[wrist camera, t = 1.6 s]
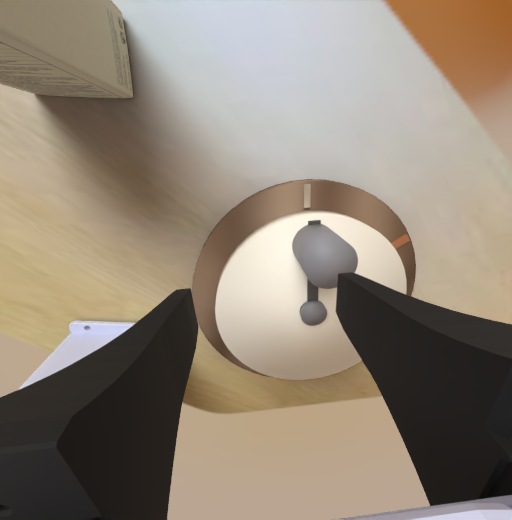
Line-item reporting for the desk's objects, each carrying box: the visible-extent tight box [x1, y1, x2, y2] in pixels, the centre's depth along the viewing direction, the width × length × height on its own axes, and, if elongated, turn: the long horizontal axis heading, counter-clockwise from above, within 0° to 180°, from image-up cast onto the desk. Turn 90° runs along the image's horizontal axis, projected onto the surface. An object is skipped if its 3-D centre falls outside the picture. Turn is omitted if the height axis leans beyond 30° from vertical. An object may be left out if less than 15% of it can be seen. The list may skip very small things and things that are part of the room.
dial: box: [215, 210, 407, 380], centre depth 18 cm, size 15×15×5 cm
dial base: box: [192, 179, 416, 377], centre depth 21 cm, size 19×19×1 cm
